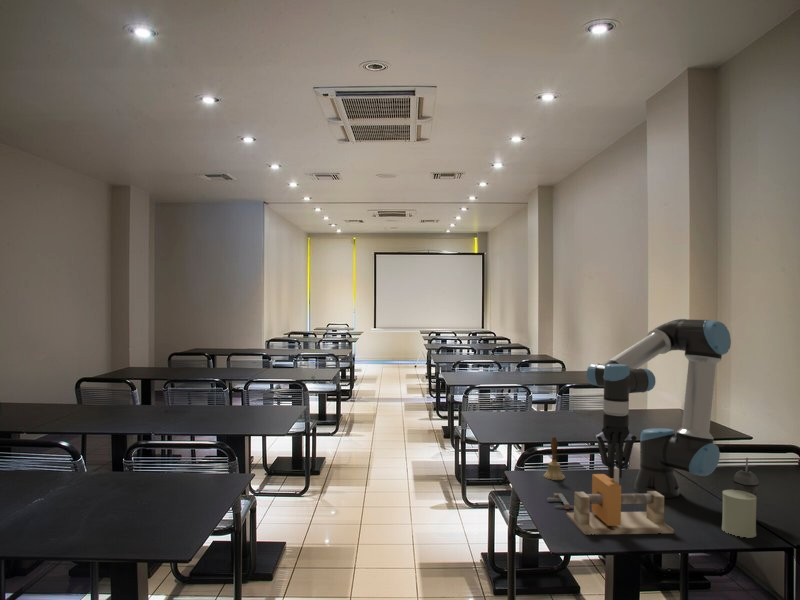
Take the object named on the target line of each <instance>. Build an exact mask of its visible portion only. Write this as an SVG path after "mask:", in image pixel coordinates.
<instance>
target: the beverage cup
mask: <svg viewBox="0 0 800 600" xmlns="http://www.w3.org/2000/svg"><path fill="white" fill-rule="evenodd" d="M748 464H749V457H745V469H740V470H739V471H736V472H735V474H734V476H733V480H732V482H733V487H734V490H740V491H745V492H748V493H751V494H753V495H755V496H756V497H757V491H759V490H758V489H759V485H760V484H759V480H758V477H757V475H756V474H755V473H753V472H752V471H751V470H749V469H748V467H749V466H748Z"/></svg>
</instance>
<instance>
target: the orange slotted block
mask: <svg viewBox="0 0 800 600" xmlns="http://www.w3.org/2000/svg"><path fill="white" fill-rule="evenodd" d="M591 476H592V478H591V494H602V495H603V504H591V512H593V513H594V514H596V515H597V516H598V517H599V518H600V519H601V520H602V521H603V522H604V523H606V524H607V525H608V526H620V525H621V512H622V504H621V494H622V485H621V484H620V483H619V484H618V483H616V482H615V481H613V480H612V479H611V478H610V477H609V476H608V475H606V474H604V473H593V474H592V475H591Z"/></svg>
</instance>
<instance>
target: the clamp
mask: <svg viewBox="0 0 800 600" xmlns="http://www.w3.org/2000/svg"><path fill="white" fill-rule="evenodd" d="M552 496H553V497H547V498H546V500H547V503H548V502H549V503H553V502H560V503H561V502H563V505H554V507H555V508H558V509H564V510H566V509H568V510H570V509H574V505H570V503H569V501H567V498H566V497H565V496H564V495H563V493H560V492H553V493H552Z"/></svg>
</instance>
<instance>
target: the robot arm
mask: <svg viewBox="0 0 800 600" xmlns="http://www.w3.org/2000/svg"><path fill="white" fill-rule="evenodd" d="M731 345H732V340H731V333H730V330H729V329H728V327H727V326H726V325H725V324H724V323H723V322H722V321H720V320H711V319H687V318H680V319H679V318H677V319H674V320H671V321H668V322H665V323H663V324H660V325H659V326H657V327H655V328H653V329H651V330H650V331H648V333H647V335H646V336H645V337H644V338H643V339H641V340H639V341H637V342H636V343H634V344H633V345H631V346H630V347H628V348H627V349H625V350H623V351H622V352H620V353H618V354H617V355H615V356H614V357H612V358H610V359H608V360H607V361H606V362H604V363H601V364H600V363H592V364H589V366H588V367H587V369H586V374H585V375H586V380H587V382H588V383H589V384H590V385H592V386H597V387H602V388H603V406H602V407H603V408H602V411H603V412H604V413H603V415H602V416H603V417H602V424H603V425H602V426H603V427H602V429H601V432H600V433H599V434H598V433H597V434H594V439H595V440H596V442H597V445H598V449H599V454H600V459H601V463H602V465H603V466H605V467H607V476H608V477H609V478H611V479H612V480H613V481H615V482H616V483H618V484H619V485H620V479H622V477H623V476H622V475H623V474H622V473H623V472H622V471H623V469H624V468H625V467H628V465H629V464H630V463H629V462H630V458H631V454H632V450H633V447H634V443H635V442H636V440H637V438H638V437H637V436H636V435H633V434H631V433H630V429H629V424H630V422H629V421H630V419H629V417H630V416H629V413H630V412H629V411H630V410H629V407H630V399H629V398H630V394H636V393H637V394H639V393H646V392H650V391H651V390H653V389H654V388H655V386H656V376H655V374H654V373H653V372H652V371H651V370H650V369H647V368H641V367H642V366H643V365H645V364H647V363H648V362H649V361H651V360H653V359H654V358H656V357H657V356H659V355H660V354H662V355H664V354H667V353H669V352H672V351H683V352H684V357H685V358H686V359H687V360H688V364H687V365H688V366H687V373H686V384H685V396H684V402H683V404H684V405H683V413H682V423H681V427H680V428H679V429H678V430H677V431H675V430H674V429H672V428H661V427H660V428H658V427H657V428H654V427H653V428H647V429H643V430H642V431H641V432H640V440H639V442H640V445H639V446H640V447H639V448H640V449H639V450H640V451H639V453H640V454H639V457H640V459H639V470H638V472H637V475H636V477H635V478H636V479H635V481H634V490H635V491H637V492H638V493H639V494H647V491H657V492H658V493H660V494H661V495H663V496H664V499H669V498H670V499H671V498H676V497H678V496H680V486H679V483H678V479H677V477H676V474H675V469H676V470H679V471H682V472H685V473H690V474H691V475H696V476H701V477H706V476H709V475H711V474H712V473H713V472H714V471H715V470H716V468H717V467H718V464H719V461H720V458H721V457H720V456H721V452H720V449H719V446H718V445H716V444H715V443H714V438H715V437H713V435H712V434H711V433H710V428H711V427H710V426H711V418H712V407H713V396H714V387H715V379H716V378H715V376H716V369H717V363H719V362H721V361H722V356H723V355H726V354H728V352H729V350H730V348H731ZM605 439H606V443H607V448H606V444H605ZM624 442H625V443H624Z"/></svg>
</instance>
